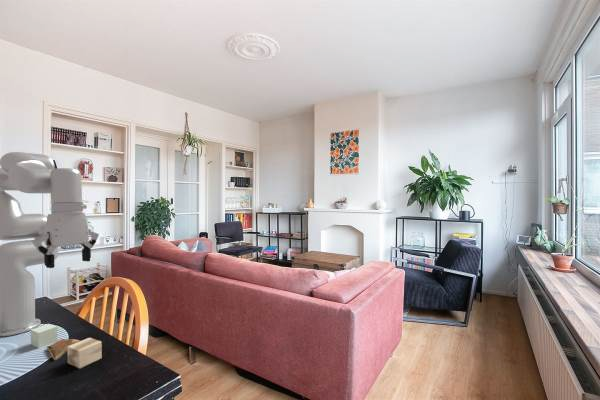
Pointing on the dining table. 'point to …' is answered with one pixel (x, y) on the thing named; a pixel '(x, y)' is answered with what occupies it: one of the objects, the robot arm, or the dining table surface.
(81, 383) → the dining table surface
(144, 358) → the dining table surface
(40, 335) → the sage block
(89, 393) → the dining table surface
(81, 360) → the beige metal block
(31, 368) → the dining table surface
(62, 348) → the shard
